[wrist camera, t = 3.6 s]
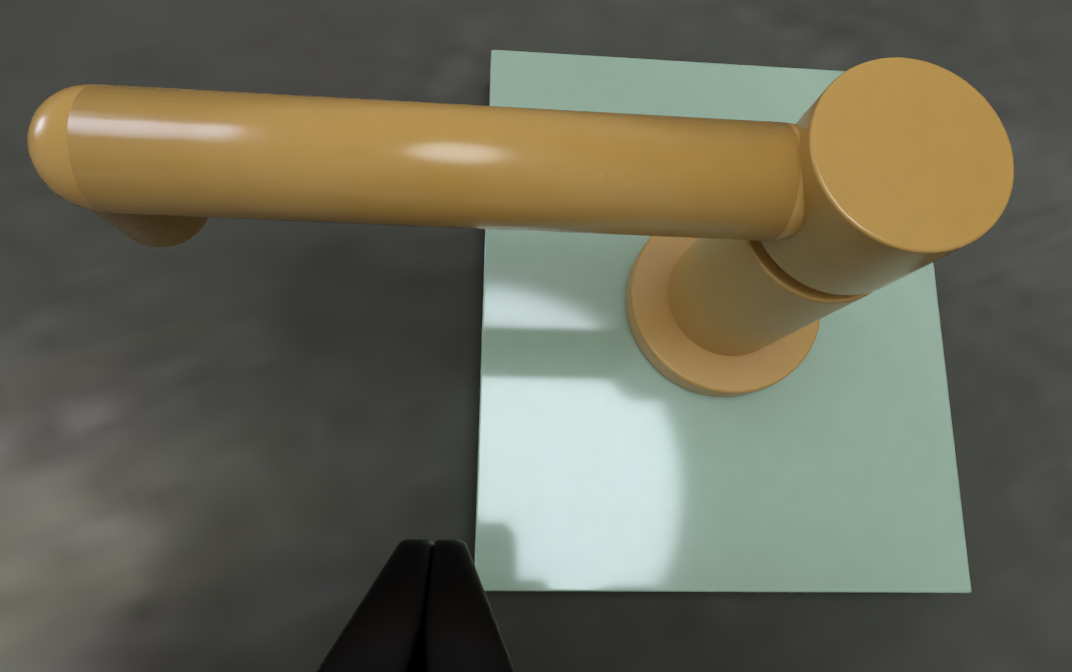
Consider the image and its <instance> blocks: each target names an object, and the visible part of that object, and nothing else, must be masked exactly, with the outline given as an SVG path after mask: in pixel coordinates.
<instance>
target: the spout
mask: <svg viewBox="0 0 1072 672" xmlns="http://www.w3.org/2000/svg"><path fill="white" fill-rule="evenodd" d="M27 139H28V150H29V155H30V158H31V161H32V164H33V166H34V168H35V169H36V171H37V173H38V174H39V176H40V177H41V179H42V180H43V181H44V183H45V184H46V185H47V186H48V187H49V188H51V189H52V190H53V191H54V192H55V193H56V194H57V195H58V196H60V197H61V198H63V199H65V200H67V201H68V202H70V203H72V204H74V205H76V206H78V207H81V208H84V209H87V210H91V211H93V212H94V213H96V214H97V215H99V216H100V217H101V218H103V219H104V220H106V221H107V222H108V223H110V224H111V225H113V226H114V227H115V228H117V229H118V230H120V231H121V232H122V233H124V234H125V235H127V236H128V237H129V238H131V239H132V240H134V241H136V242H137V243H140V244H142V245H145V246H150V247H169V246H174V245H178V244H180V243H183V242H185V241H187V240H188V239H190V238H191V237H193V236H194V235H195V234H196V233H198V232H199V231H200V229H201V228H202V227H203V226H204V224H205V223H206V221H207V219H208V217H212V218H236V219H260V220H283V221H307V222H331V223H354V224H378V225H402V226H426V227H449V228H473V229H497V230H520V231H544V232H568V233H592V234H615V235H639V236H663V237H686V238H710V239H734V240H757V241H761V242H762V244H763V246H764V248H765V250H766V251H767V252H768V254H769V255H770V257H771V258H772V259H773V260H774V261H775V263H776V264H777V265H778V266H779V267H780V268H781V269H782V270H784V271H785V272H786V273H787V274H788V275H789V276H791V277H792V278H794V279H795V280H797V281H798V282H800V283H802V284H804V285H806V286H808V287H810V288H813V289H816V290H818V291H821V292H825V293H830V294H835V295H860V294H866V293H870V292H873V291H876V290H879V289H881V288H883V287H885V286H887V285H889V284H891V283H893V282H895V281H897V280H899V279H901V278H903V277H905V276H907V275H909V274H911V273H913V272H915V271H917V270H919V269H921V268H923V267H925V266H927V265H929V264H931V263H933V262H935V261H937V260H939V259H941V258H943V257H945V256H947V255H949V254H951V253H953V252H955V251H957V250H959V249H961V248H963V247H965V246H967V245H969V244H971V243H973V242H974V241H976V240H977V239H979V238H980V237H982V236H983V235H984V234H985V233H986V232H987V231H989V230H990V229H991V228H992V227H993V226H994V224H995V223H996V222H997V220H998V219H999V218H1000V216H1001V215H1002V213H1003V211H1004V209H1005V207H1006V206H1007V203H1008V200H1009V198H1010V195H1011V191H1012V186H1013V181H1014V161H1013V154H1012V149H1011V144H1010V141H1009V138H1008V136H1007V133H1006V130H1005V128H1004V126H1003V124H1002V122H1001V120H1000V119H999V117H998V115H997V114H996V112H995V111H994V109H993V108H992V107H991V105H990V104H989V103H988V102H987V100H986V99H985V98H984V97H983V96H982V95H981V94H980V93H979V92H978V91H977V90H976V89H975V88H974V87H972V86H971V85H970V84H969V83H967V82H966V81H965V80H963V79H962V78H960V77H959V76H957V75H956V74H954V73H952V72H950V71H948V70H946V69H944V68H942V67H940V66H937V65H934V64H932V63H929V62H925V61H921V60H917V59H910V58H882V59H876V60H872V61H868V62H865V63H862V64H860V65H857V66H855V67H852V68H851V69H849V70H847V71H846V72H844V73H842V74H841V75H840V76H839V77H837V78H836V79H835V80H834V81H833V82H832V83H831V84H830V85H829V86H828V87H827V88H826V89H825V90H824V92H823V93H822V94H821V95H820V96H819V97H818V98H817V100H816V101H815V102H814V103H813V104H812V105H811V107H810V108H809V109H808V110H807V111H806V112H805V114H804V115H803V116H802V117H801V118H800V119H799V121H798V122H797V123H796V124H793V123H786V122H772V121H754V120H735V119H717V118H699V117H681V116H663V115H645V114H627V113H609V112H590V111H572V110H554V109H536V108H518V107H500V106H482V105H463V104H445V103H427V102H409V101H391V100H373V99H355V98H337V97H318V96H300V95H282V94H264V93H246V92H228V91H210V90H191V89H173V88H155V87H137V86H119V85H101V84H87V85H78V86H74V87H70V88H66V89H62V90H61V91H59V92H57V93H55V94H53V95H52V96H50V97H49V98H47V99H46V100H45V101H44V102H43V103H42V104H41V105H40V106H39V108H38V109H37V110H36V112H35V114H34V116H33V118H32V120H31V123H30V125H29V129H28V137H27Z"/></svg>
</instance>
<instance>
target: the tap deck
mask: <svg viewBox="0 0 1072 672" xmlns="http://www.w3.org/2000/svg"><path fill="white" fill-rule="evenodd" d="M844 72H846V71H833V70H816V69H800V68H784V67H767V66H751V65H734V64H718V63H702V62H685V61H669V60H653V59H636V58H620V57H604V56H587V55H571V54H554V53H538V52H522V51H505V50H492V51H491V64H490V95H489V106H500V107H518V108H536V109H554V110H572V111H590V112H609V113H627V114H645V115H663V116H681V117H699V118H717V119H735V120H754V121H772V122H786V123H793V124H796V123H797V122H798V121H799V119H800V118H801V117H802V116H803V115H804V114H805V112H806V111H807V110H808V109H809V108H810V107H811V105H812V104H813V103H814V102H815V101H816V100H817V98H818V97H819V96H820V95H821V94H822V93H823V92H824V90H825V89H826V88H827V87H828V86H829V85H830V84H831V83H832V82H833V81H834V80H835V79H836V78H837V77H839V76H840V75H841V74H842V73H844ZM650 237H651V236H639V235H615V234H592V233H568V232H544V231H520V230H497V229H485V250H484V281H483V312H482V343H481V374H480V405H479V436H478V467H477V498H476V529H475V560H474V565H475V568H476V570H477V573H478V575H479V578H480V580H481V583H482V586H483V588H484V591H593V592H835V593H970V592H971V584H970V576H969V567H968V558H967V550H966V541H965V532H964V524H963V515H962V506H961V498H960V489H959V480H958V472H957V463H956V454H955V446H954V437H953V428H952V420H951V411H950V402H949V394H948V385H947V376H946V368H945V359H944V350H943V342H942V333H941V325H940V316H939V307H938V299H937V290H936V281H935V273H934V264H933V263H931V264H929V265H927V266H925V267H923V268H921V269H919V270H917V271H915V272H913V273H911V274H909V275H907V276H905V277H903V278H901V279H899V280H897V281H895V282H893V283H891V284H889V285H887V286H885V287H883V288H881V289H879V290H876V291H874V292H872V293H870V294H869V295H867V296H865V297H863V298H861V299H859V300H857V301H855V302H853V303H851V304H849V305H847V306H845V307H843V308H841V309H839V310H837V311H835V312H833V313H831V314H829V315H827V316H825V317H823V318H821V319H820V324H819V329H818V332H817V335H816V338H815V341H814V343H813V345H812V347H811V349H810V351H809V353H808V354H807V356H806V357H805V359H804V360H803V361H802V363H801V364H800V365H799V366H798V367H797V368H796V369H795V370H794V371H793V372H792V373H791V374H789V375H788V376H787V377H786V378H784V379H782V380H781V381H779V382H777V383H776V384H774V385H771V386H769V387H767V388H764V389H762V390H759V391H756V392H753V393H749V394H746V395H741V396H734V397H715V396H708V395H703V394H700V393H696V392H693V391H690V390H688V389H685V388H683V387H681V386H679V385H678V384H676V383H674V382H672V381H671V380H669V379H668V378H667V377H665V376H664V375H663V374H661V373H660V372H659V371H658V370H657V369H656V368H655V367H654V366H653V365H652V364H651V363H650V362H649V361H648V359H647V358H646V357H645V356H644V354H643V353H642V351H641V349H640V348H639V346H638V345H637V343H636V341H635V338H634V336H633V334H632V332H631V328H630V325H629V322H628V317H627V311H626V287H627V281H628V277H629V273H630V271H631V268H632V266H633V263H634V261H635V259H636V258H637V256H638V254H639V252H640V251H641V249H642V248H643V246H644V245H645V243H646V242H647V241H648V240H649V238H650Z"/></svg>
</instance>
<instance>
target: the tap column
mask: <svg viewBox="0 0 1072 672" xmlns="http://www.w3.org/2000/svg"><path fill="white" fill-rule="evenodd" d="M873 292H874V291H873ZM870 293H872V292H870ZM870 293H866V294H860V295H835V294H830V293H825V292H821V291H818V290H816V289H813V288H810V287H808V286H806V285H804V284H802V283H800V282H798V281H797V280H795V279H794V278H792V277H791V276H789V275H788V274H787V273H786V272H785V271H784V270H782V269H781V268H780V267H779V266H778V265H777V264H776V263H775V261H774V260H773V259H772V258H771V257H770V255H769V254H768V252H767V251H766V250H765V248H764V246H763V244H762V242H761V241H757V240H734V239H710V238H686V237H663V236H651V237H650V238H649V240H648V241H647V242H646V243H645V245H644V246H643V248H642V249H641V251H640V252H639V254H638V256H637V258H636V259H635V261H634V263H633V266H632V268H631V271H630V273H629V277H628V281H627V287H626V311H627V317H628V322H629V325H630V328H631V332H632V334H633V336H634V338H635V341H636V343H637V345H638V346H639V348H640V349H641V351H642V353H643V354H644V356H645V357H646V358H647V359H648V361H649V362H650V363H651V364H652V365H653V366H654V367H655V368H656V369H657V370H658V371H659V372H660V373H661V374H663V375H664V376H665V377H667V378H668V379H669V380H671V381H672V382H674V383H676V384H678V385H679V386H681V387H683V388H685V389H688V390H690V391H693V392H696V393H700V394H703V395H708V396H715V397H734V396H741V395H746V394H749V393H753V392H756V391H759V390H762V389H764V388H767V387H769V386H771V385H774V384H776V383H777V382H779V381H781V380H782V379H784V378H786V377H787V376H788V375H789V374H791V373H792V372H793V371H794V370H795V369H796V368H797V367H798V366H799V365H800V364H801V363H802V361H803V360H804V359H805V357H806V356H807V354H808V353H809V351H810V349H811V347H812V345H813V343H814V341H815V338H816V335H817V332H818V329H819V324H820V319H821V318H823V317H825V316H827V315H829V314H831V313H833V312H835V311H837V310H839V309H841V308H843V307H845V306H847V305H849V304H851V303H853V302H855V301H857V300H859V299H861V298H863V297H865V296H867V295H869V294H870Z"/></svg>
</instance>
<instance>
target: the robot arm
mask: <svg viewBox="0 0 1072 672" xmlns="http://www.w3.org/2000/svg"><path fill="white" fill-rule="evenodd" d="M316 672H516V671H515V668H514V666H513V663H512V661H511V658H510V656H509V653H508V650H507V648H506V645H505V643H504V640H503V637H502V635H501V632H500V630H499V627H498V624H497V622H496V619H495V617H494V614H493V612H492V609H491V606H490V604H489V601H488V599H487V596H486V593H485V591H484V588H483V586H482V583H481V580H480V578H479V575H478V573H477V570H476V568H475V565H474V562H473V560H472V557H471V555H470V552H469V549H468V547H467V545H466V543H465V542H464V541H462V540H437V541H435V543H434V545H433V543H432V542H431V541H430V540H422V539H406V540H403V541H401V542H400V543H399V544H398V546H397V547H396V549H395V550H394V552H393V554H392V555H391V557H390V558H389V560H388V561H387V563H386V564H385V566H384V567H383V569H382V571H381V572H380V574H379V575H378V577H377V578H376V580H375V581H374V583H373V584H372V586H371V588H370V589H369V591H368V592H367V594H366V595H365V597H364V598H363V600H362V601H361V603H360V605H359V606H358V608H357V609H356V611H355V612H354V614H353V615H352V617H351V619H350V620H349V622H348V623H347V625H346V626H345V628H344V629H343V631H342V632H341V634H340V636H339V637H338V639H337V640H336V642H335V643H334V645H333V646H332V648H331V649H330V651H329V653H328V654H327V656H326V657H325V659H324V660H323V662H322V663H321V665H320V666H319V668H318V670H317V671H316Z"/></svg>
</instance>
